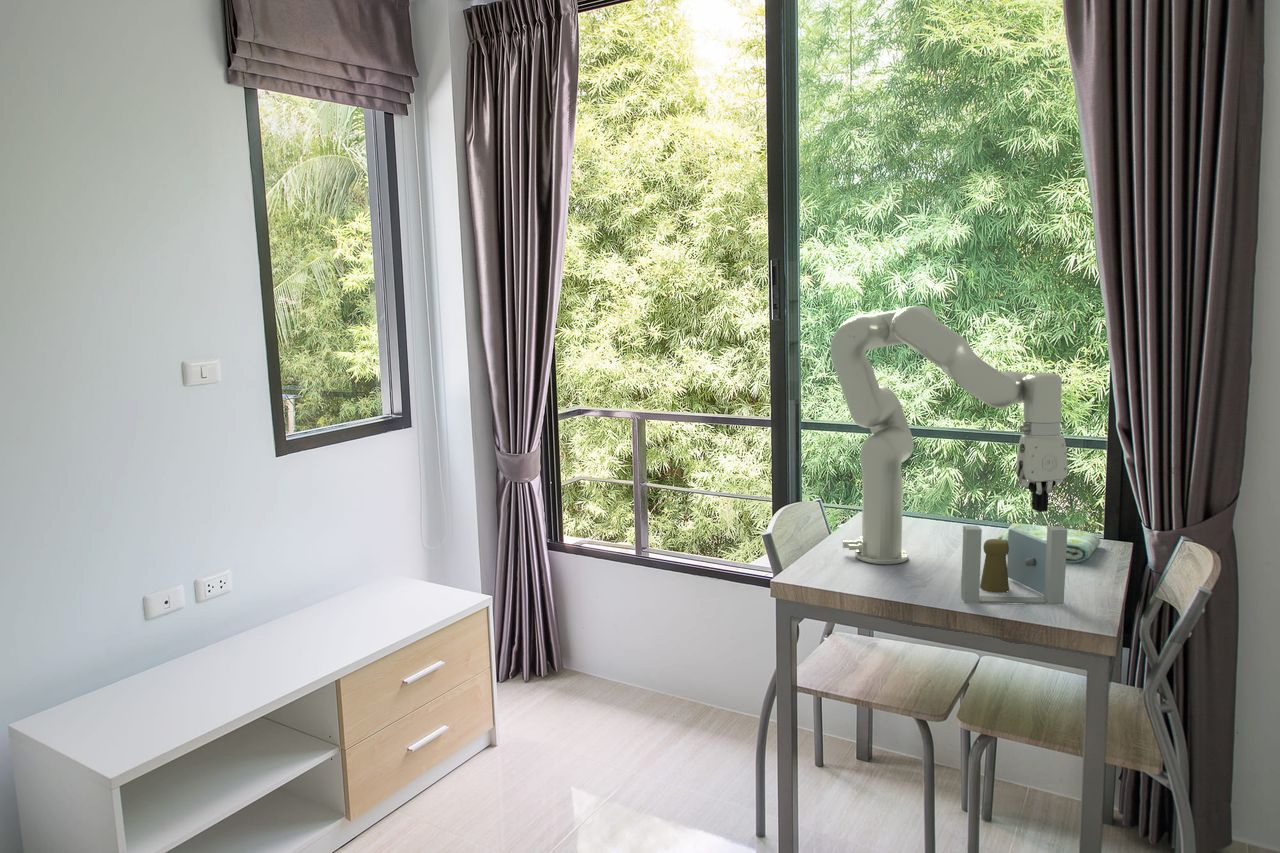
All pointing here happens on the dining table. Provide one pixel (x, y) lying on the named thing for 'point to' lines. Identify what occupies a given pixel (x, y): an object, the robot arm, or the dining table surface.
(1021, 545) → the door
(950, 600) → the dining table surface
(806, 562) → the dining table surface
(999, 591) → the cork
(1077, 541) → the towel
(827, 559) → the dining table surface
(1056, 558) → the door frame
